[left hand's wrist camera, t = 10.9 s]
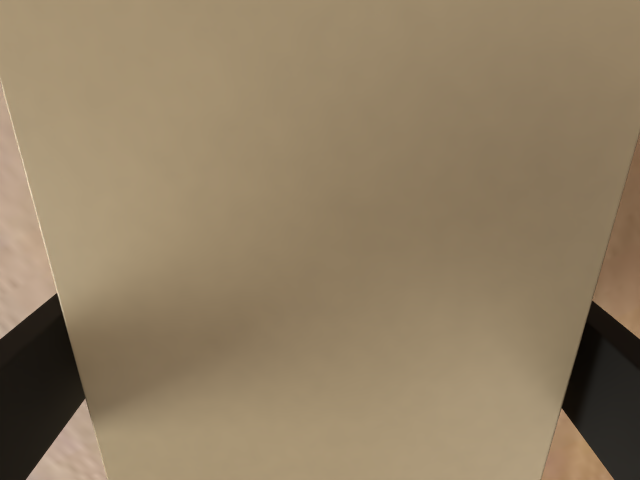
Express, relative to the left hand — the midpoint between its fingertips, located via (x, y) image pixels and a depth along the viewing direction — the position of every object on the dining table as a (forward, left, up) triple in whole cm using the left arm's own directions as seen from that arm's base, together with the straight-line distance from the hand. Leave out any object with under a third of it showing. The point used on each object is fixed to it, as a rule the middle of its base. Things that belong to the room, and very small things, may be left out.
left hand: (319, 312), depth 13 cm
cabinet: (+5, 0, -4) cm, 7 cm away
